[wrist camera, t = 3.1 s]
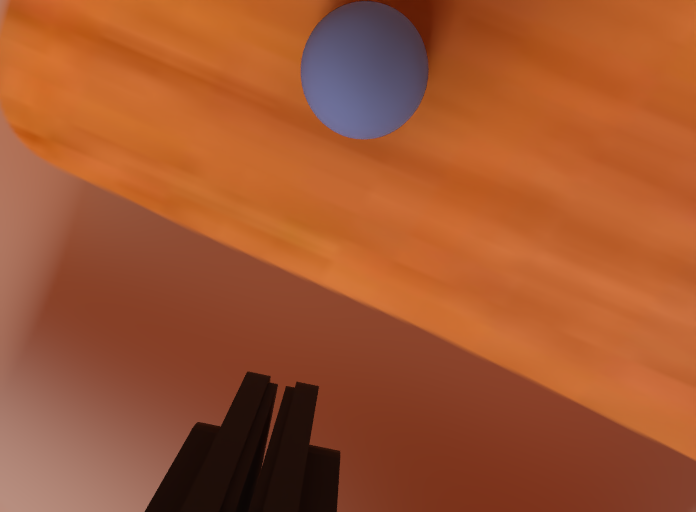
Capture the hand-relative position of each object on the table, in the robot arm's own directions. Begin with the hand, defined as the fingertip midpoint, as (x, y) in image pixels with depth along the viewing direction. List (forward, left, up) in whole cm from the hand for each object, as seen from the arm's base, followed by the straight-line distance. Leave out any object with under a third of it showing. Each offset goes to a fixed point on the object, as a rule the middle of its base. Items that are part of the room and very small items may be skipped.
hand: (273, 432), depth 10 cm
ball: (0, -10, -12) cm, 16 cm away
